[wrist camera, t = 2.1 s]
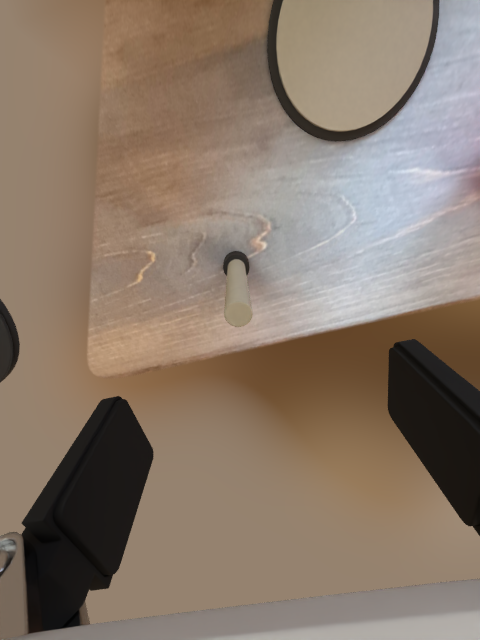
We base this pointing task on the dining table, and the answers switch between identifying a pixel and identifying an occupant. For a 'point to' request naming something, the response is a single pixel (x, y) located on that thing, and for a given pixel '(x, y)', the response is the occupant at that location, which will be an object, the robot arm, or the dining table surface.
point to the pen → (237, 290)
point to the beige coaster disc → (348, 61)
